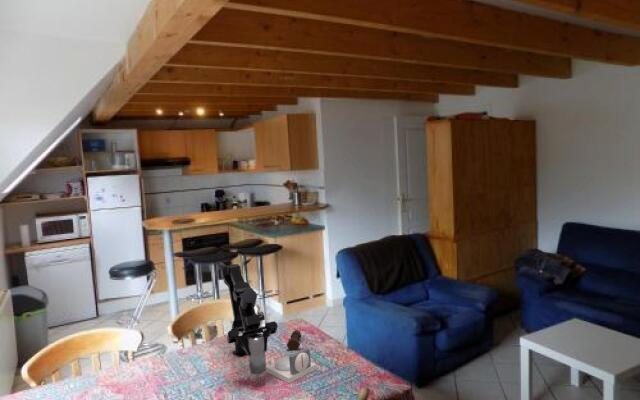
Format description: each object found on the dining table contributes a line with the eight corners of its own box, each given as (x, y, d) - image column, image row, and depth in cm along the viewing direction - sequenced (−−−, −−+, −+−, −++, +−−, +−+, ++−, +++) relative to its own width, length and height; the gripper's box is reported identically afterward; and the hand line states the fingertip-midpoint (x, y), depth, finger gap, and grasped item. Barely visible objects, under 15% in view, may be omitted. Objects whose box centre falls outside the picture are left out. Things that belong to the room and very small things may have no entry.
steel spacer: (247, 371, 160) (244, 337, 159) (260, 364, 164) (257, 332, 163) (256, 376, 155) (253, 341, 154) (269, 369, 160) (266, 336, 158)
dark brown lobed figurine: (299, 340, 201) (295, 353, 186) (289, 335, 201) (285, 348, 186) (304, 329, 201) (301, 342, 186) (294, 325, 201) (290, 337, 186)
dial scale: (266, 372, 168) (264, 350, 168) (293, 358, 178) (291, 338, 177) (289, 383, 158) (287, 360, 157) (316, 369, 168) (315, 347, 167)
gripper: (225, 310, 158) (234, 350, 148) (274, 300, 165) (285, 338, 155) (223, 323, 166) (231, 362, 156) (270, 314, 173) (280, 351, 163)
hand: (257, 353), depth 158 cm, fingers closed on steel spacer, 6 cm apart
